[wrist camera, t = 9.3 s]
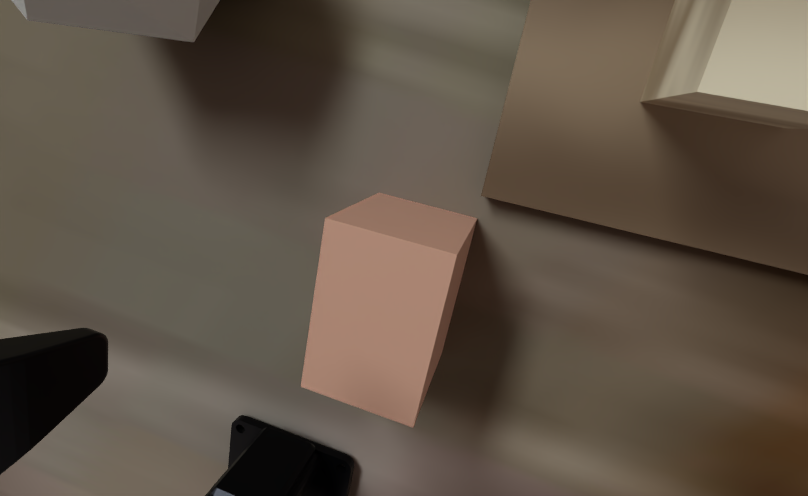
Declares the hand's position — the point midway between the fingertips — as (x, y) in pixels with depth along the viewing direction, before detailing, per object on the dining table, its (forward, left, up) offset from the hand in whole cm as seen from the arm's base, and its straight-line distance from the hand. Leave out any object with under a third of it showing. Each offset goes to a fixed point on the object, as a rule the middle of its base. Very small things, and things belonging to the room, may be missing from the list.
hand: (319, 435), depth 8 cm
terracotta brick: (-1, +1, -11) cm, 11 cm away
